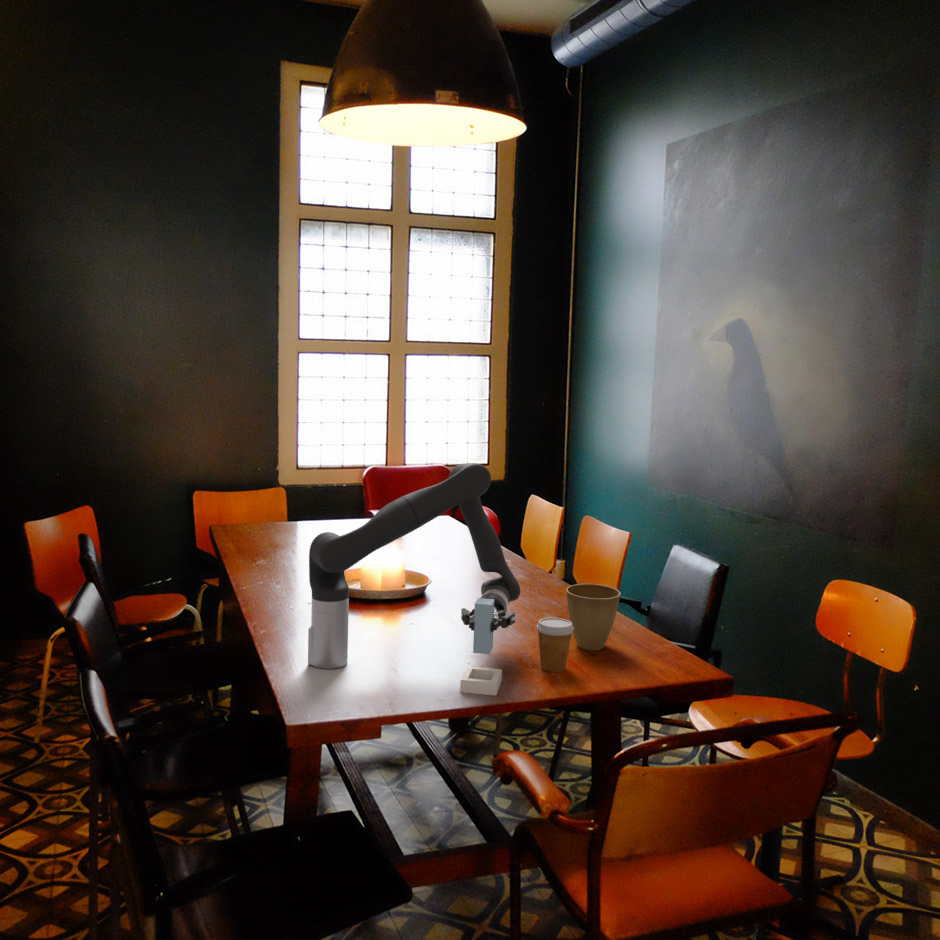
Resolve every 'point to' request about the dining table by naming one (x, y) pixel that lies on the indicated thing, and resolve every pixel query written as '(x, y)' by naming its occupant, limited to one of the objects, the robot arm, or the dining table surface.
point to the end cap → (481, 680)
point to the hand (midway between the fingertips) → (482, 627)
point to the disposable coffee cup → (554, 642)
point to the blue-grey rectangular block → (483, 626)
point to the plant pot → (592, 613)
